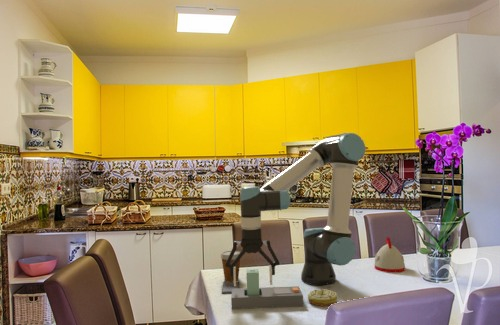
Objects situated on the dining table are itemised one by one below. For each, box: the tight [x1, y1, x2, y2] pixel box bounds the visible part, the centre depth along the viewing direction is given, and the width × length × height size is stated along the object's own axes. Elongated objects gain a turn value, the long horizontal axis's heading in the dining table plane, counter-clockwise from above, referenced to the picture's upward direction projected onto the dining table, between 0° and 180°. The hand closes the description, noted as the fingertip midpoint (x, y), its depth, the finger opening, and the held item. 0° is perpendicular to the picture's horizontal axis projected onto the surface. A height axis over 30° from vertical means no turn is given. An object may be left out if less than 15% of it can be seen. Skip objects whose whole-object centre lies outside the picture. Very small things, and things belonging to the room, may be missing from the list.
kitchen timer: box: [374, 236, 406, 274], centre depth 175 cm, size 14×14×15 cm
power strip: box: [230, 285, 304, 310], centre depth 135 cm, size 26×10×5 cm, turn 91°
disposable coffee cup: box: [220, 250, 241, 282], centre depth 165 cm, size 10×10×12 cm
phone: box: [221, 281, 240, 295], centre depth 152 cm, size 7×13×1 cm, turn 1°
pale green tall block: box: [245, 268, 260, 296], centre depth 135 cm, size 4×4×12 cm
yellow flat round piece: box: [307, 288, 338, 307], centre depth 134 cm, size 10×11×4 cm
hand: (253, 284), depth 135 cm, fingers open, 13 cm apart
